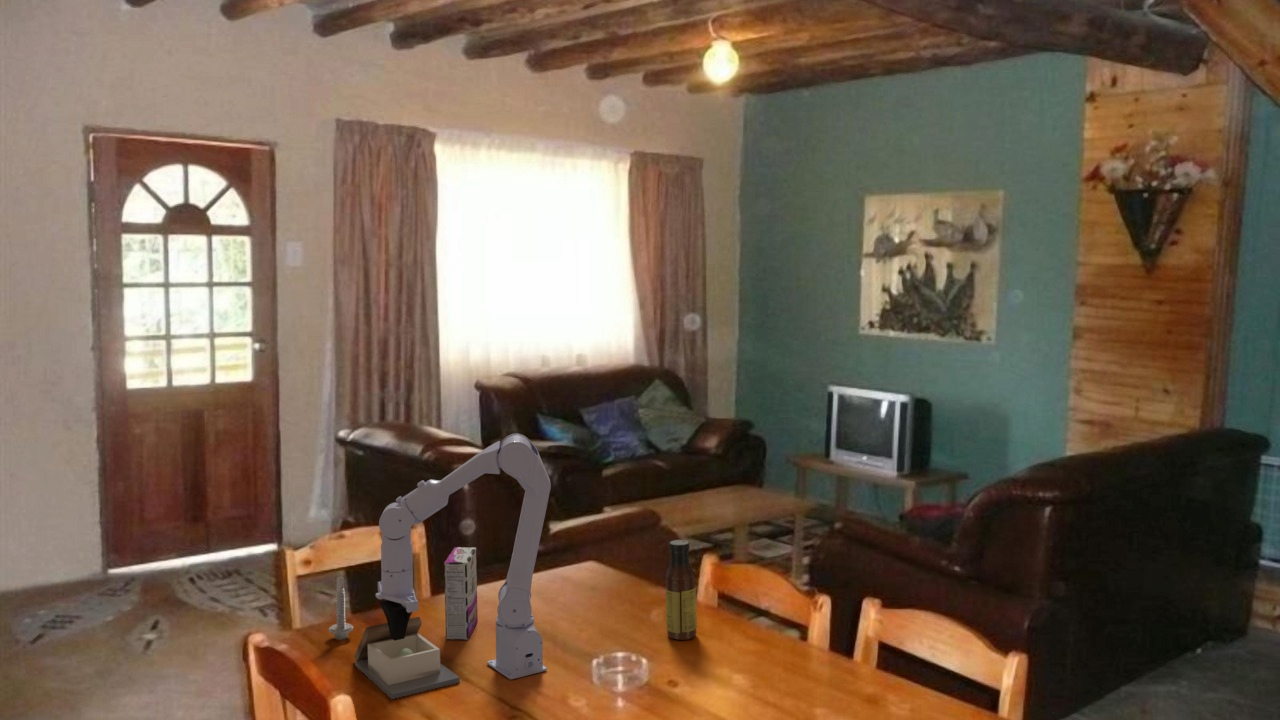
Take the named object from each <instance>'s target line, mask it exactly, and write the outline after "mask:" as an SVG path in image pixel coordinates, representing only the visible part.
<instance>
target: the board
mask: <svg viewBox="0 0 1280 720" xmlns="http://www.w3.org/2000/svg"><path fill="white" fill-rule="evenodd" d="M354 664H355V665H354V667H355V666H356V667H357V668H359V669H360V670H361V671H362V672H363V673H364V674H365V675H366V676H367V677H368V678H367V677H366V676H365V675H364V674H363V673H362V672H361V671H360V670H359V669H358V670H359V671H360V672H361V673H362V674H363V675H364V676H365V677H366V678H367V679H368V680H369V681H371V680H372V681H373V682H374V683H373V682H372V681H371V682H372V683H373V684H374V685H375V686H376V685H377V687H378V688H379V690H381V691H382V692H383V693H384V694H385V693H386V694H387V695H386V694H385V695H386V696H388V698H390V699H391V700H392V699H393V700H396V699H395V698H397V699H400V698H399V697H401V698H403V697H402V696H405V697H407V696H406V695H409V696H411V695H410V694H413V695H415V694H414V693H417V694H420V693H419V692H421V693H424V692H423V691H425V692H427V691H426V690H429V691H432V690H431V689H433V690H436V689H435V688H437V689H440V688H439V687H441V688H444V687H443V686H445V687H448V685H449V686H451V685H452V684H453V685H455V684H456V683H457V684H459V683H460V680H461V678H460V676H458V675H457V674H455V673H454V672H453V671H452V670H450V669H449V668H448V667H446V666H445V665H444V664H442V663H441V662H440V673H437V674H433V675H429V676H425V677H421V678H416V679H412V680H408V681H404V682H400V683H396V684H392V685H388V684H387V683H386V682H385V681H383V680H382V679H381V678H380V677H379V676H378V675H377V674H375V673H374V672H373V671H372V670H371V669H370V668H368V659H364V660H360V661H356V660H355V662H354ZM356 667H355V668H356ZM357 668H356V669H357Z"/></svg>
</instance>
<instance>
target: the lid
mask: <svg viewBox="0 0 1280 720" xmlns="http://www.w3.org/2000/svg"><path fill="white" fill-rule="evenodd" d="M421 626H422V620H421V617H420V616H416V617H412V618H411V617H410V619H409V622H408V625H407V630H406V634H405V636H407V635H411V634H416V633H418V632H419V630H420V628H421ZM418 634H419V633H418ZM388 639H392V638H391V634H390V630H389V626H388V622H387V623H381V624H376V625H372V626H366V627H365V629H364V632H363V634H362V637H361V639H360V641H359V644H358V646H357V649H356V651H355V654H354V660H355V661H360V660H364V659H368V644H370V643H374V642H379V641H383V640H388Z"/></svg>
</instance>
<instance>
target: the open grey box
mask: <svg viewBox="0 0 1280 720" xmlns="http://www.w3.org/2000/svg"><path fill="white" fill-rule="evenodd" d="M404 648H408V649H410V650H411V651H412V652H413V654H410V655H405V656H401V657H397V654H398V652H399V651H400V650H401V649H404ZM440 663H441V649H440V648H439V647H438V646H436V645H435V644H434V643H432V642H431V641H429V640H428V639H427V638H425V637H424V636H422V635H421V634H420V633H416V634H411V635H407V636H405V638H404V639H400V640H396V641H394V640H393V639H388V640H383V641H379V642H374V643H370V644H368V668H370V669H371V670H372V671H373V672H374V673H375V674H377V675H378V676H379V677H380V678H381V679H382V680H383V681H385V682H386V683H387V684H388V685H392V684H396V683H400V682H404V681H408V680H412V679H416V678H421V677H425V676H429V675H433V674H437V673H440Z"/></svg>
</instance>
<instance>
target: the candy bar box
mask: <svg viewBox="0 0 1280 720" xmlns="http://www.w3.org/2000/svg"><path fill="white" fill-rule="evenodd" d="M443 567H444V568H443V569H444V571H443V572H444V603H445V605H444V606H445V609H444V610H445V613H444V615H445V640H446V639H453V640H452V641H469V639H470V638H471V635H472V633H473V631H474V629H475V627H476V626H477V623H478V620H479V619H478V617H479V616H478V584H477V583H478V581H477V580H478V579H477V578H478V575H477V573H478V572H477V571H478V570H477V569H478V568H477V547H474V546H473V547H471V546H470V547H467V546H466V547H465V546H455V547H454V548H453V549H452V551H451V552H450V554H449V555H448V556H447V558H446V560H445V561H444V563H443ZM469 637H470V638H469ZM455 639H456V640H455Z"/></svg>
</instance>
